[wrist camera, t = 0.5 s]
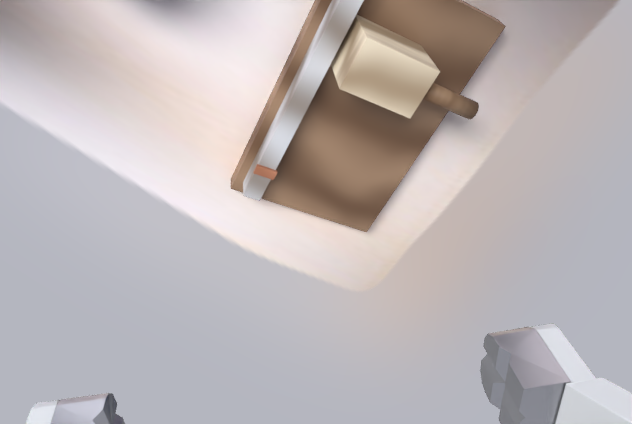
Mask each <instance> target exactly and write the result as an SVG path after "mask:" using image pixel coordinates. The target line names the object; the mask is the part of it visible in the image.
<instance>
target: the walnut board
mask: <svg viewBox="0 0 632 424" xmlns="http://www.w3.org/2000/svg"><path fill="white" fill-rule="evenodd" d="M356 14H357V15H359V16H361V17H363V18H365V19H367V20H369V21H371V22H374V23H376V24H378V25H380V26H382V27H384V28H386V29H388V30H390V31H392V32H394V33H396V34H398V35H401V36H403V37H405V38H407V39H409V40H411V41H413V42H415V43H417V44H419V45H421V46H422V47H423V49H424V50H425V51H426V53H427V54H428V55H429V57H430V58H431V60H432V61H433V62H434V64H435V65H436V66H437V68H438V69H439V71H440V73H439V74H438V76H437V78H436V79H435V81H434V82H433V83H436V84H438V85H440V86H442V87H444V88H447V89H449V90H451V91H453V92H455V93H458V94H460V93H461V92H462V90H463V89H464V87H465V86H466V84H467V83H468V81H469V80H470V78H471V77H472V75H473V74H474V72H475V71H476V69H477V68H478V66H479V65H480V63H481V62H482V60H483V59H484V57H485V56H486V55H487V53H488V52H489V50H490V49H491V47H492V46H493V44H494V43H495V41H496V40H497V38H498V37H499V35H500V34H501V32H502V31H503V29H504V28H505V25H503V24H502V23H501V22H500V21H499V20H497V19H496V18H494V17H492V16H490V15H488V14H486V13H484V12H482V11H481V10H479V9H477V8H475V7H473V6H471V5H469V4H467V3H466V2H464V1H462V0H315V2H314V4H313V6H312V8H311V10H310V12H309V14H308V17H307V19H306V21H305V23H304V25H303V27H302V29H301V31H300V34H299V36H298V38H297V40H296V42H295V44H294V46H293V48H292V51H291V53H290V55H289V57H288V59H287V61H286V63H285V65H284V68H283V70H282V72H281V74H280V76H279V78H278V80H277V82H276V85H275V87H274V89H273V91H272V93H271V95H270V97H269V99H268V101H267V104H266V106H265V108H264V110H263V112H262V114H261V116H260V118H259V121H258V123H257V125H256V127H255V129H254V131H253V133H252V135H251V138H250V140H249V142H248V144H247V146H246V148H245V150H244V152H243V155H242V157H241V159H240V161H239V163H238V165H237V167H236V169H235V172H234V174H233V176H232V178H231V189H234V190H237V191H240V192H243V196H246V197H249V198H252V199H255V200H258V201H260V199H261V198H262V199H265V200H268V201H271V202H274V203H277V204H280V205H284V206H287V207H290V208H293V209H296V210H299V211H302V212H305V213H308V214H312V215H315V216H318V217H321V218H324V219H327V220H330V221H333V222H336V223H340V224H343V225H346V226H349V227H352V228H355V229H358V230H361V231H364V232H367V231H368V229H369V228H370V226H371V225H372V223H373V222H374V220H375V219H376V217H377V216H378V214H379V213H380V211H381V210H382V209H383V207H384V206H385V204H386V203H387V201H388V200H389V198H390V197H391V195H392V194H393V192H394V191H395V189H396V188H397V186H398V185H399V183H400V182H401V180H402V179H403V177H404V176H405V174H406V173H407V172H408V170H409V169H410V167H411V166H412V164H413V163H414V161H415V160H416V158H417V157H418V155H419V154H420V152H421V151H422V149H423V148H424V146H425V145H426V143H427V142H428V140H429V139H430V137H431V136H432V134H433V133H434V132H435V130H436V129H437V127H438V126H439V124H440V123H441V121H442V120H443V118H444V117H445V115H446V114H447V112H448V111H449V110H447V109H444V108H442V107H440V106H438V105H435V104H433V103H431V102H428V101H426V100H424V99H422V101H421V103H420V104H419V106H418V107H417V109H416V110H415V112H414V114H413V115H412V117H411V118H407V117H405V116H403V115H400V114H398V113H396V112H393V111H391V110H388V109H386V108H384V107H381V106H379V105H377V104H374V103H372V102H369V101H367V100H365V99H362V98H360V97H358V96H355V95H353V94H350V93H348V92H346V91H343V90H341V89H339V86H338V84H337V81H336V78H335V75H334V72H333V69H332V66H331V62H332V61H333V59H334V57H335V55H336V53H337V51H338V49H339V47H340V45H341V43H342V41H343V39H344V37H345V35H346V34H347V32H348V30H349V28H350V26H351V24H352V22H353V20H354V18H355V16H356Z"/></svg>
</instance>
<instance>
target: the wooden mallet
mask: <svg viewBox="0 0 632 424" xmlns="http://www.w3.org/2000/svg"><path fill="white" fill-rule="evenodd" d="M331 66H332V69H333V72H334V75H335V78H336V81H337V84H338V86H339V89H341V90H343V91H346V92H348V93H350V94H353V95H355V96H358V97H360V98H362V99H365V100H367V101H369V102H372V103H374V104H377V105H379V106H381V107H384V108H386V109H388V110H391V111H393V112H396V113H398V114H400V115H403V116H405V117H407V118H411V117H412V115H413V114H414V112H415V110H416V109H417V107H418V106H419V104H420V103H421V101H422V99H424V100H426V101H428V102H431V103H433V104H435V105H438V106H440V107H442V108H444V109H447V110H449V111H451V112H453V113H456V114H458V115H460V116H463V117H465V118H467V119H472V118H473V117H474V116H475V115H476V113H477V111H478V108H479V105H478V103H477V102H475V101H473V100H471V99H468V98H466V97H464V96H462V95H460V94H458V93H455V92H453V91H451V90H449V89H447V88H444V87H442V86H440V85H438V84H436V83H433V82H434V81H435V79H436V78H437V76H438V74H439V73H440V71H439V69H438V68H437V66H436V65H435V64H434V62H433V61H432V60H431V58H430V57H429V55H428V54H427V53H426V51H425V50H424V49H423V47H422V46H421V45H419V44H417V43H415V42H413V41H411V40H409V39H407V38H405V37H403V36H401V35H398V34H396V33H394V32H392V31H390V30H388V29H386V28H384V27H382V26H380V25H378V24H376V23H374V22H371V21H369V20H367V19H365V18H363V17H361V16H359V15H357V14H356V16H355V18H354V20H353V22H352V24H351V26H350V28H349V30H348V32H347V34H346V35H345V37H344V39H343V41H342V43H341V45H340V47H339V49H338V51H337V53H336V55H335V57H334V59H333V61H332V62H331Z"/></svg>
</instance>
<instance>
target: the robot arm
mask: <svg viewBox="0 0 632 424" xmlns="http://www.w3.org/2000/svg"><path fill="white" fill-rule="evenodd" d="M484 348H485V350H486V352H487V355H486V356H485V357H484V358H483V359H482V361H481V378H482V384H483V387H484V390H485V393H486V395H487V397H488V399H489V401H490V403H492V404H493V405H495V406H496V407H498V408H499V409H500V415H499V421H500V423H501V424H632V393H630V392H629V391H627V390H625V389H623V388H621V387H619V386H618V385H616V384H614V383H612V382H610V381H608V380H607V379H605V378H596V377H595V376H594V374H593V373H592V372H591V370H590V369H589V368H588V366H587V365H586V364H585V363H584V361H583V360H582V358H581V357H580V356H579V354H578V353H577V352H576V350H575V349H574V348H573V346H572V345H571V344H570V342H569V341H568V340H567V338H566V337H565V336H564V334H563V333H562V332H561V330H560V329H559V328H558V326H556V325H555V324H553V323H551V324H544V325H538V326H532V327H524V328H518V329H513V330H506V331H500V332H495V333H489V334H487V336H486V337H485V340H484ZM116 407H117V402H116V400H115V398H114V396H113V394H112V393H106V394H99V395H92V396H83V397H76V398H68V399H61V400H55V401H48V402H41V403H36V404H35V405H34V406H33V408H32V409H31V410H30V412H29V415H28V418H27V421H26V424H125V423H124V420H123V418H122V417H120V416H119V415H117V414H115V412H116Z"/></svg>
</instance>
